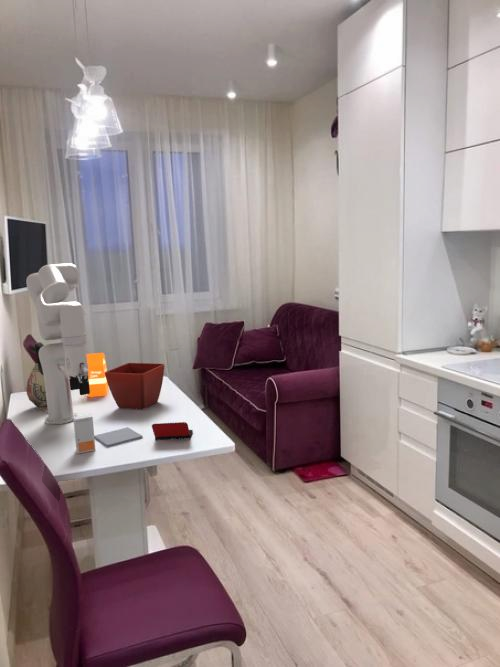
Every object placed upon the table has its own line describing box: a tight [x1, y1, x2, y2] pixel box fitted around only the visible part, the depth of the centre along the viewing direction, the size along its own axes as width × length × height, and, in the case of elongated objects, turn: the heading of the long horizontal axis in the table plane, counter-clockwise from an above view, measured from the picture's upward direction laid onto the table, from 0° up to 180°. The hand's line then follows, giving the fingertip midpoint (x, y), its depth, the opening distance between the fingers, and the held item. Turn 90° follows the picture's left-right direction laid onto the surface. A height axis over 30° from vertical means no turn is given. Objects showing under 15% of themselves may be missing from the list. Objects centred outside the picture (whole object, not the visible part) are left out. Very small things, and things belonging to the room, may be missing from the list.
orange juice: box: [86, 352, 110, 398], centre depth 249 cm, size 8×9×20 cm
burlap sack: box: [26, 341, 48, 410], centre depth 230 cm, size 17×15×30 cm
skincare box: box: [72, 413, 96, 454], centre depth 175 cm, size 6×4×12 cm
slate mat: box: [94, 426, 143, 448], centre depth 187 cm, size 13×13×1 cm
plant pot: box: [105, 362, 165, 411], centre depth 226 cm, size 19×19×17 cm
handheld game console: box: [151, 421, 194, 441], centre depth 184 cm, size 12×11×7 cm
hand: (80, 391), depth 173 cm, fingers open, 9 cm apart
